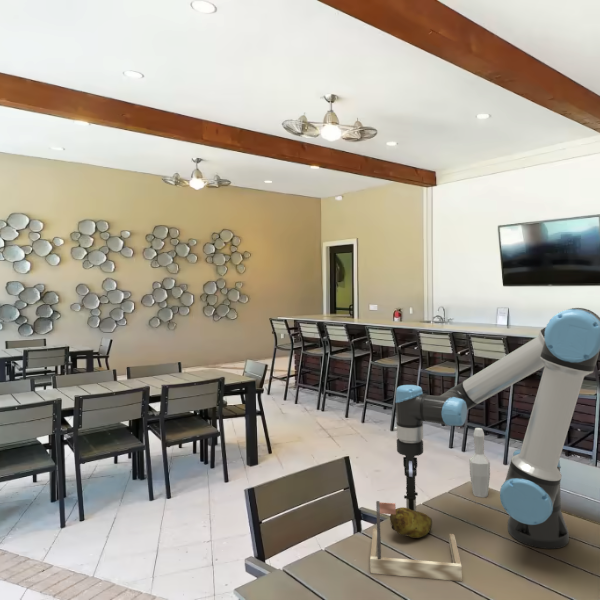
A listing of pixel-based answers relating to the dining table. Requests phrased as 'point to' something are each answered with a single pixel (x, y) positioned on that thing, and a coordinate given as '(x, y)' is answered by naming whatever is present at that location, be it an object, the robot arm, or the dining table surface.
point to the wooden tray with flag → (406, 565)
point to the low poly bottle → (479, 466)
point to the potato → (410, 522)
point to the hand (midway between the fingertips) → (411, 519)
